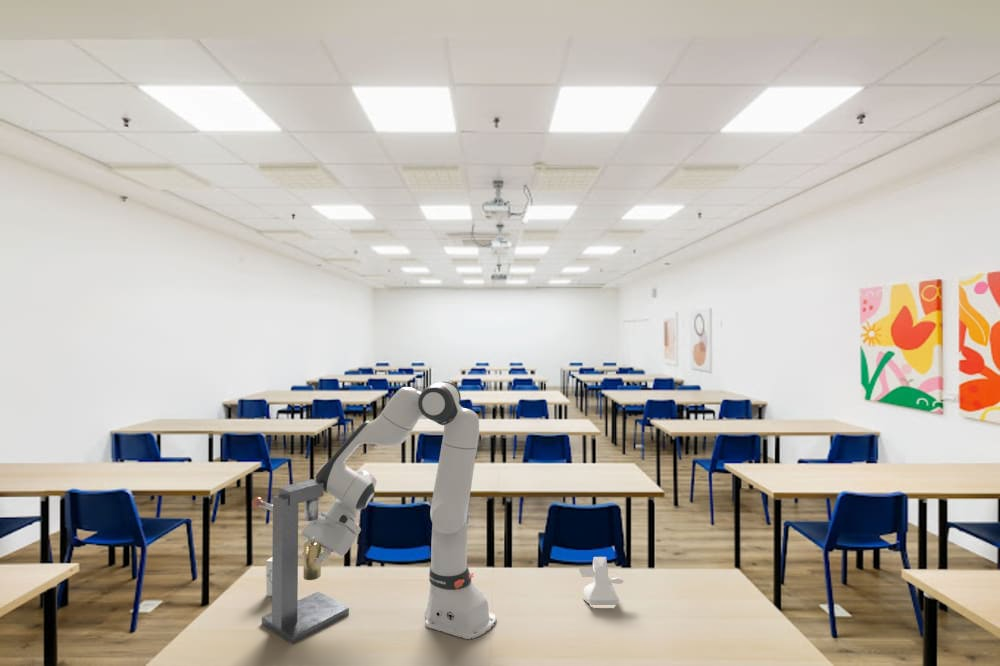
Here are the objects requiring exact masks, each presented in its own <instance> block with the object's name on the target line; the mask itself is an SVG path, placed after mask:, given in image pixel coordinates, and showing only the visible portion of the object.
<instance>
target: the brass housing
mask: <svg viewBox="0 0 1000 666" xmlns="http://www.w3.org/2000/svg"><path fill="white" fill-rule="evenodd" d="M303 552H304V556H303V572H302V577H303V579H304V580H306V581H315V580H317V579H319V578H320V577H321V575H322V573H321V572H322V563H321V564H318V563H317V562H315V561H314V559H315V558H316V556H317V555H320V554H321V553H322V547H321V543H319V542H317V541H315V537H314V536H313V537H311V541H306V542H305V543H304V544H303Z"/></svg>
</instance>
